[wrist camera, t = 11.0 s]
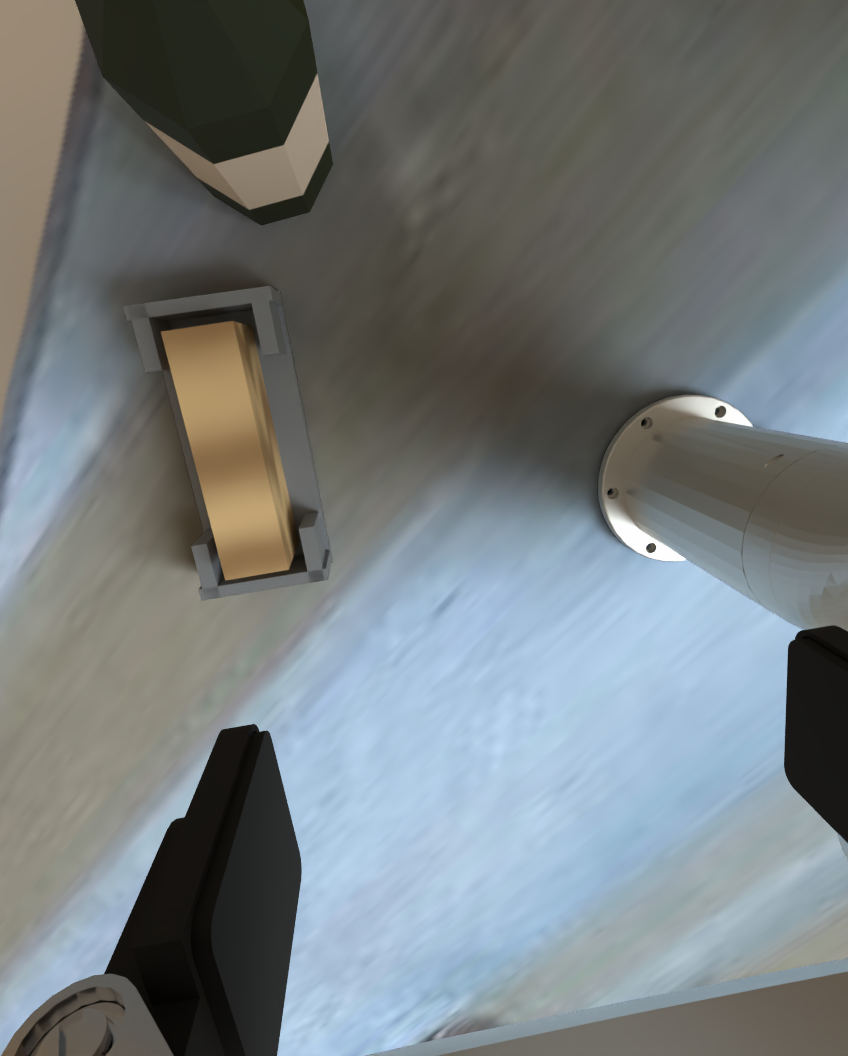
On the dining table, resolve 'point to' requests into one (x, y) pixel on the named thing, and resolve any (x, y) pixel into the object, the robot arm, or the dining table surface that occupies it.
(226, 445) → the slat
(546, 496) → the dining table surface
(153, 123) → the wine bottle
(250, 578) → the end-cap rail
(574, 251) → the dining table surface
